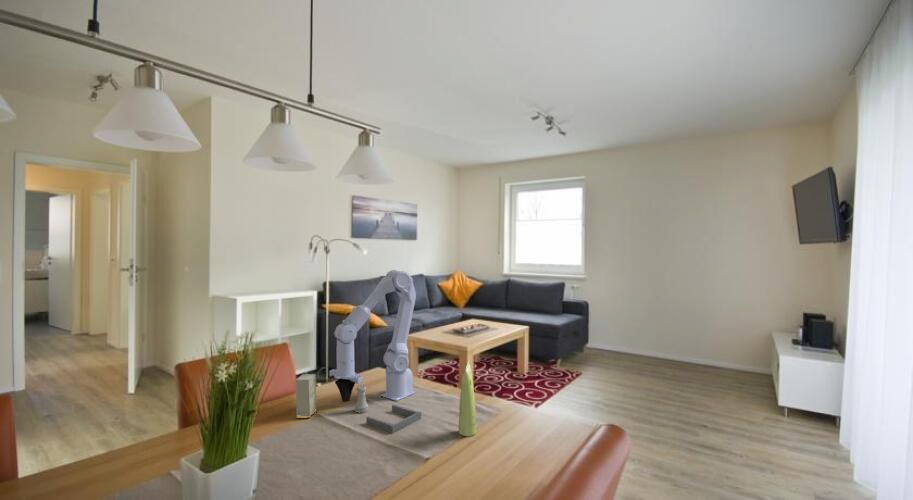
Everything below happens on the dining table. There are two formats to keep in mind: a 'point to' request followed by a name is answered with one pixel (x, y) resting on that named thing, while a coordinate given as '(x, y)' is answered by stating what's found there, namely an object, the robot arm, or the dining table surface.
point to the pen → (393, 428)
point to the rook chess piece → (361, 399)
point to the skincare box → (306, 394)
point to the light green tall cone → (467, 405)
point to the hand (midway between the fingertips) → (346, 401)
